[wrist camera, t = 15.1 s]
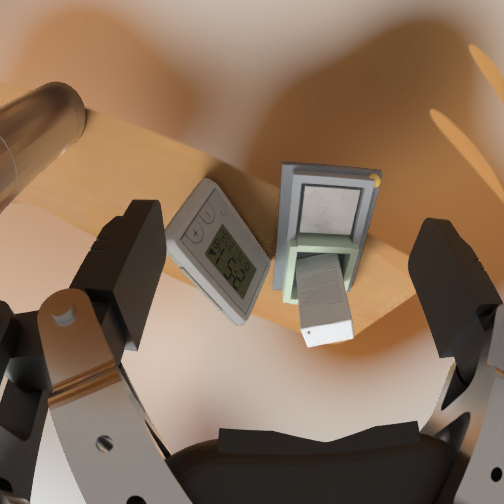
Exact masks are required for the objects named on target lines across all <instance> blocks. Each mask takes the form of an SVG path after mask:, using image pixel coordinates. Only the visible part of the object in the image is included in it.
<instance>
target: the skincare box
mask: <svg viewBox="0 0 504 504" xmlns="http://www.w3.org/2000/svg"><path fill="white" fill-rule="evenodd" d="M295 268H296V279H297V291H298V302H299V314H300V329H301V332H302V334H303V336H304V339H305V342H306V344H307V347H312V346H317V345H322V344H328V343H333V342H338V341H343V340H348V339H353V338H354V331H353V322H352V316H351V312H350V308H349V303H348V299H347V294H346V289H345V285H344V281H343V276H342V272H341V267H340V263H339V259H338V255H337V253H323V254H319V255H314V256H310V257H305V258H301V259H296V264H295Z"/></svg>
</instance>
